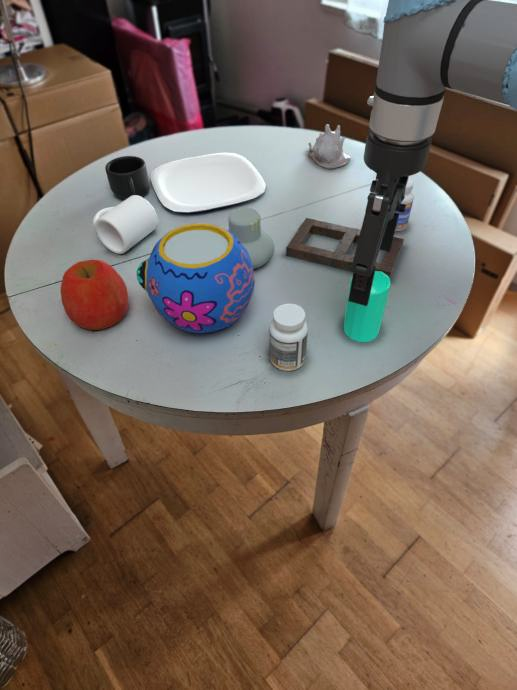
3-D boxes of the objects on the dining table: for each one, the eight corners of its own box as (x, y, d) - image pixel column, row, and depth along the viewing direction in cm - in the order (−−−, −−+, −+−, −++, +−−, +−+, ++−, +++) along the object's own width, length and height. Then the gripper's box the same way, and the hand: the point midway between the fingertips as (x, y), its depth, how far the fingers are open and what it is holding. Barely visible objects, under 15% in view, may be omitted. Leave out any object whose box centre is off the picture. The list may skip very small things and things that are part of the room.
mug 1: (110, 188, 113) (102, 159, 108) (147, 181, 115) (141, 152, 110) (117, 213, 106) (109, 183, 100) (156, 205, 107) (151, 176, 102)
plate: (240, 153, 124) (239, 147, 123) (276, 200, 108) (276, 193, 106) (145, 171, 118) (143, 165, 117) (168, 224, 102) (166, 217, 101)
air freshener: (280, 256, 93) (281, 211, 86) (260, 280, 89) (259, 235, 81) (233, 241, 97) (230, 197, 90) (211, 263, 92) (206, 218, 85)
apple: (107, 286, 88) (91, 238, 80) (145, 310, 83) (132, 262, 76) (58, 317, 83) (36, 269, 75) (96, 345, 78) (76, 297, 70)
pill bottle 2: (399, 235, 97) (409, 192, 90) (376, 226, 100) (384, 183, 93) (411, 223, 100) (422, 181, 93) (389, 215, 103) (397, 173, 95)
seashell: (329, 174, 115) (332, 136, 109) (294, 158, 122) (296, 121, 115) (356, 161, 120) (361, 123, 113) (321, 146, 126) (324, 109, 119)
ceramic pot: (193, 272, 91) (182, 201, 80) (274, 301, 84) (274, 230, 73) (134, 328, 81) (112, 256, 70) (220, 366, 74) (211, 295, 63)
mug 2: (161, 234, 99) (154, 200, 94) (129, 259, 94) (120, 224, 88) (119, 219, 104) (110, 185, 98) (86, 242, 98) (74, 208, 92)
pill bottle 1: (286, 340, 78) (288, 295, 70) (312, 358, 75) (317, 313, 68) (262, 359, 75) (261, 314, 68) (288, 378, 72) (290, 334, 65)
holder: (402, 247, 95) (404, 238, 93) (388, 280, 88) (390, 272, 86) (305, 225, 101) (306, 217, 99) (286, 255, 94) (286, 247, 92)
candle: (386, 328, 79) (400, 271, 70) (366, 347, 76) (378, 291, 67) (356, 312, 82) (367, 255, 73) (336, 330, 79) (344, 273, 70)
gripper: (392, 90, 64) (368, 225, 79) (337, 174, 48) (320, 320, 64) (449, 98, 62) (412, 235, 77) (410, 188, 46) (374, 336, 62)
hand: (370, 274), depth 71 cm, fingers open, 13 cm apart
